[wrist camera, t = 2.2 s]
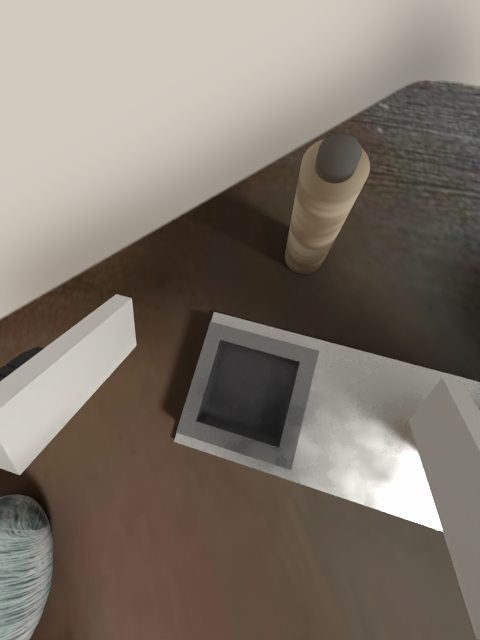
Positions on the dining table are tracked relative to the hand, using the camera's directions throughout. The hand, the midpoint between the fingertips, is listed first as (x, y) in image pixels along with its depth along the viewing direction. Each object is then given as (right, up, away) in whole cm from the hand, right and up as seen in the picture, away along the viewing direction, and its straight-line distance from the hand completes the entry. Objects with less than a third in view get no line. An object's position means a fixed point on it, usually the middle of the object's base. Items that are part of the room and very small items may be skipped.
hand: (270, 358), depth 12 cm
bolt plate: (+9, -8, +16) cm, 20 cm away
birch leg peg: (+6, +9, +20) cm, 23 cm away
